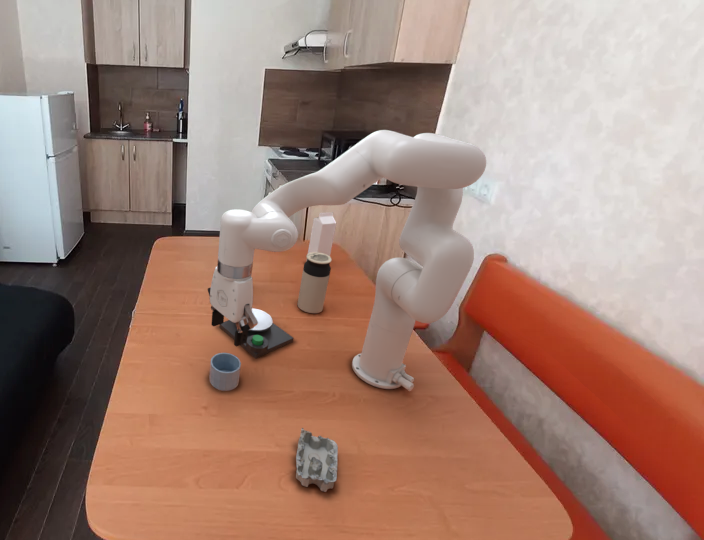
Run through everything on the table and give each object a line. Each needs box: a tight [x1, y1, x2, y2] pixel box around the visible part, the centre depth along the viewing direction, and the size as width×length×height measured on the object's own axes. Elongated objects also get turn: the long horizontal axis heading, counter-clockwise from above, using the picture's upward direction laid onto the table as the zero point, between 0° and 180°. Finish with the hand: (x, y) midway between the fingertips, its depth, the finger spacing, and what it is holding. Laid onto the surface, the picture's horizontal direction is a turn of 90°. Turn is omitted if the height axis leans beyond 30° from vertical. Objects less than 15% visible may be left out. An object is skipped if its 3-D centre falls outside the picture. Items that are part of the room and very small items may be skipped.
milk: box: [307, 211, 337, 257], centre depth 156 cm, size 6×6×22 cm
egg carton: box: [295, 427, 339, 493], centre depth 80 cm, size 11×8×4 cm
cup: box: [208, 352, 242, 392], centre depth 101 cm, size 7×7×6 cm
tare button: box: [252, 335, 263, 346], centre depth 111 cm, size 3×3×2 cm
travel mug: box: [297, 252, 332, 314], centre depth 130 cm, size 8×8×18 cm
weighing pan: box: [240, 307, 274, 332], centre depth 120 cm, size 11×11×1 cm
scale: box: [218, 319, 295, 360], centre depth 118 cm, size 16×14×3 cm
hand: (228, 333), depth 96 cm, fingers open, 8 cm apart
